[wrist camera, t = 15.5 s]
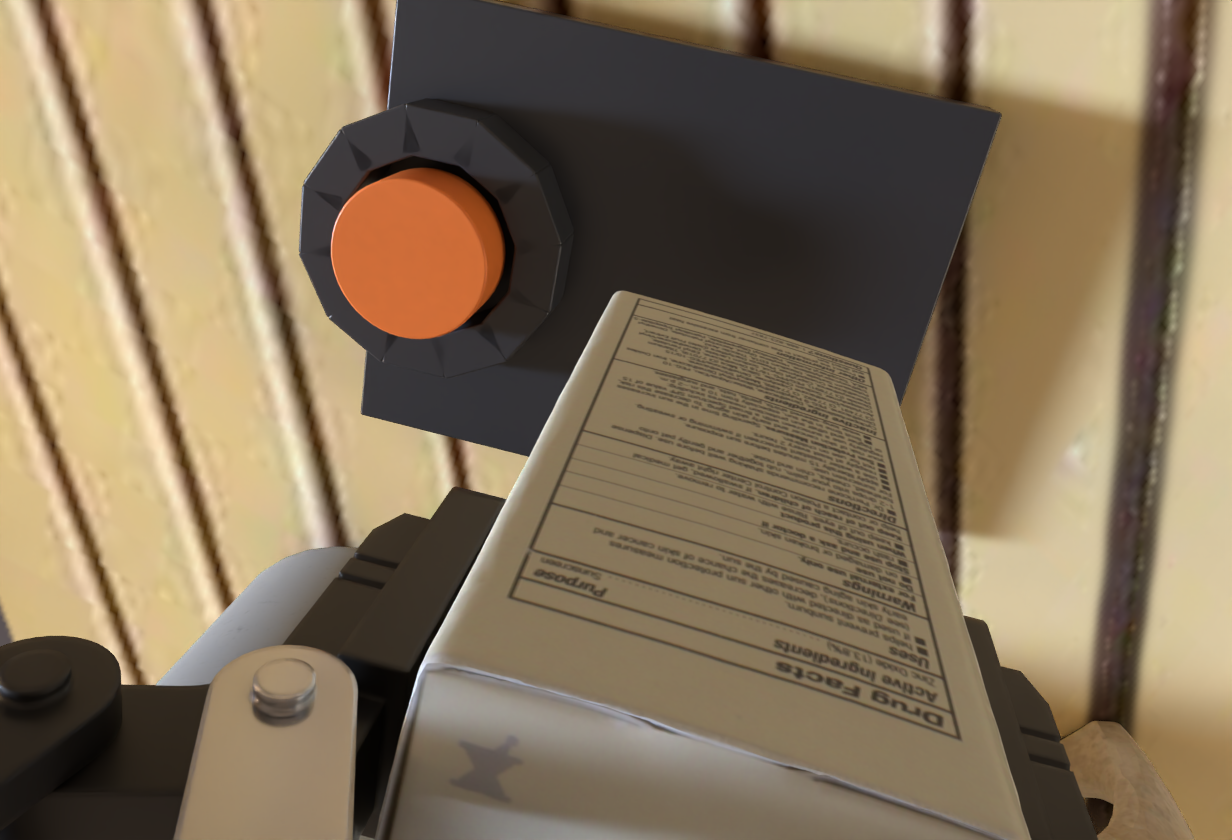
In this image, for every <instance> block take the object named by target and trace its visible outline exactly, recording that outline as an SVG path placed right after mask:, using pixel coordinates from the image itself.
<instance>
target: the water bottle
mask: <svg viewBox="0 0 1232 840" xmlns="http://www.w3.org/2000/svg"><path fill="white" fill-rule="evenodd" d="M357 549H358V548H352V547H328V548H319V549H311V550H306V551H303V552H300V553H298V554H295V555H292V556H289V557H286V558H284V559H282V560H280V561H279V562H277V563H276V564H274V565H272V566H271V567H269V568H268V569H266V570H264V571H263V572H261V573H260V574H259V575H258V576H257V577H256V578H255V579H254V580H253V581H252V582H251V583H250V585H249V586H248V587H247V588H246V589H245V590H244V591H243V592H242V593H241V594H240V595H239V596H238V597H237V598H236V599H235V600H234V602H233V603H232V604H231V605H230V606H229V607H228V608H227V609H226V610H225V611H224V612H223V613H222V614H221V615H220V617H219V618H218V619H217V620H216V621H215V622H214V623H213V624H212V625H211V626H210V627H209V628H208V629H207V630H206V631H205V633H204V634H203V635H202V636H201V637H200V638H199V639H198V640H197V641H196V642H195V643H194V644H193V645H192V646H191V647H190V649H189V650H188V651H187V652H186V653H185V654H184V655H183V656H182V657H181V658H180V659H179V660H178V661H177V662H176V664H175V665H174V666H173V667H172V668H171V669H170V670H169V671H168V672H167V673H166V674H165V675H164V676H163V677H162V678H161V680H160V681H159V682H158V683H157V684H156V685H163V686H194V685H204V684H210V683H211V682H212V680H213V679H214V677H215V676H216V674H217V673H218V672H219V671H220V670H221V669H222V668H223V667H224V666H226V665H227V664H228V663H230V662H231V661H232V660H234V659H236V658H238V657H240V656H241V655H244V654H246V653H249V652H251V651H254V650H257V649H261V648H265V647H271V646H277V645H282V644H283V643H284V642H285V640H286V639H287V638H288V637H289V635H290V634H291V633H292V632H293V630H294V629H295V628H296V626H297V625H298V624H299V623H300V621H301V620H302V619H303V618H304V616H305V615H306V614H307V613H308V611H309V610H310V609H311V607H312V606H313V605H314V604H315V602H316V601H317V600H318V599H319V597H320V596H321V595H322V594H323V592H324V591H325V590H326V588H327V587H328V586H329V585H330V583H331V582H332V581H333V580H334V578H335V577H337V578H338V576H339V572H340V571H341V570H342V568H343V567H344V566H345V564H346V563H347V562H348V561H349V559H350V558H353V557H354V554H355V552H356V551H357ZM359 840H374V839H373V838H369V837H366V836H362V835H361V836H360V838H359Z"/></svg>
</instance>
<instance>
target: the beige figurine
mask: <svg viewBox="0 0 1232 840" xmlns="http://www.w3.org/2000/svg"><path fill="white" fill-rule="evenodd" d="M1060 743H1061V744H1063V745H1064V748H1065V751H1066V753H1067V756H1068V759H1069V761H1070V764H1071V765H1070V771H1072V772H1074V775H1075V778H1076V781H1077V783H1078V786H1079V789H1080V791H1081V794H1082V797H1089V798H1099V799H1103V800H1105V801H1107V802H1110V803H1112V804H1114V807H1113V816H1112V817H1111V819H1110V822H1109V825H1108V826H1107V827H1106V828H1105V829H1104V830H1103V831H1102V832H1101V833H1100V834H1098V835H1097V838H1098V840H1194V836H1193V834H1192V832H1191V830H1190V829H1189V827H1188V825H1187V823H1186V821H1185V819H1184V817H1183V815H1182V813H1181V812H1180V810H1179V808H1178V806H1177V804H1176V802H1175V801H1174V799H1173V797H1172V796H1171V794H1170V792H1169V791H1168V789H1167V787H1166V786H1165V784H1164V783H1163V781H1162V780H1161V778H1160V777H1159V775H1158V773H1157V772H1156V770H1155V768H1154V766H1153V764H1152V763H1151V761H1150V760H1149V758H1148V757H1147V756H1146V754H1145V753H1144V752H1143V751H1142V750H1141V748H1140V747H1139V746H1138V745H1137V744H1136V742H1135V741H1134V739H1133V738H1132V737H1131V736H1130V735H1129V734H1128V732H1127V731H1126V730H1125V729H1124V728H1123V727H1122V726H1121V724H1119V723H1116V722H1108V721H1092V722H1090V723H1088V724H1087V725H1086V726H1084V727H1083V728H1081V729H1079V730H1077V731H1076V732H1074V733H1073V734H1071V735H1069V736H1068V737H1066V738H1064V739H1062V740H1060Z"/></svg>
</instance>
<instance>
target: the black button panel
mask: <svg viewBox="0 0 1232 840" xmlns="http://www.w3.org/2000/svg"><path fill="white" fill-rule="evenodd" d="M1001 117H1002V114H1001V113H1000V112H998V111H996V110H994V109H992V108H990V107H985V106H981V105H976V104H972V103H967V102H962V101H958V100H953V99H949V98H944V97H939V96H935V95H930V94H926V93H921V92H916V91H912V90H907V89H903V88H898V87H893V86H889V85H884V84H880V83H875V82H870V81H866V80H861V79H856V78H852V77H847V76H843V75H838V74H833V73H829V72H824V71H820V70H815V69H810V68H806V67H801V66H797V65H792V64H787V63H783V62H778V61H774V60H769V59H764V58H760V57H755V56H750V55H746V54H741V53H737V52H732V51H727V50H723V49H718V48H714V47H709V46H704V45H700V44H695V43H691V42H686V41H681V40H677V39H672V38H668V37H663V36H658V35H654V34H649V33H644V32H640V31H635V30H631V29H626V28H621V27H617V26H612V25H608V24H603V23H598V22H594V21H589V20H585V19H580V18H575V17H571V16H566V15H562V14H557V13H552V12H548V11H543V10H538V9H534V8H529V7H525V6H520V5H515V4H511V3H506V2H502V1H497V0H397V1H396V13H395V24H394V36H393V47H392V59H391V70H390V82H389V93H388V105H387V110H386V111H384V112H381V113H378V114H376V115H373V116H370V117H367V118H365V119H362V120H359V121H357V122H354V123H351V124H349V125H346V126H343V127H342V128H341V129H340V130H339V131H338V133H337V134H336V136H335V137H334V139H333V140H332V141H331V143H330V144H329V146H328V147H327V149H326V150H325V152H324V153H323V154H322V156H321V157H320V159H319V160H318V162H317V163H316V165H315V166H314V167H313V169H312V170H311V172H310V173H309V175H308V176H307V178H306V179H305V180H304V184H303V186H302V203H301V222H300V241H299V252H300V253H299V255H300V258H301V260H302V262H303V264H304V266H305V269H306V271H307V273H308V275H309V277H310V280H311V282H312V284H313V286H314V289H315V291H316V293H317V295H318V297H319V300H320V302H321V304H322V306H323V308H324V311H325V313H326V315H327V317H329V319H330V320H331V321H332V322H334V323H335V324H336V325H337V326H338V327H339V328H341V329H342V330H343V331H344V332H345V333H347V334H348V335H349V336H350V337H351V338H352V339H354V340H355V341H356V342H357V343H358V344H360V345H361V346H362V347H363V348H364V349H365V350H366V358H365V370H364V381H363V393H362V404H361V414H362V415H366V416H370V417H374V418H378V419H382V420H386V421H389V422H393V423H397V424H401V425H405V426H409V427H413V428H417V429H421V430H425V431H429V432H433V433H437V434H441V435H445V436H449V437H453V438H457V439H461V440H465V441H469V442H473V443H477V444H481V445H485V446H489V447H493V448H497V449H501V450H505V451H509V452H512V453H516V454H520V455H524V456H528V457H529V456H530V454H531V452H532V450H533V448H534V446H535V444H536V442H537V440H538V438H539V436H540V434H541V432H542V430H543V428H544V426H545V424H546V422H547V420H548V418H549V416H550V415H551V413H552V411H553V409H554V407H555V405H556V402H557V400H558V398H559V396H560V395H561V393H562V391H563V389H564V387H565V386H566V384H567V382H568V380H569V378H570V377H571V374H572V372H573V370H574V368H575V366H576V364H577V363H578V361H579V359H580V357H581V355H582V353H583V351H584V349H585V347H586V346H587V344H588V342H589V340H590V338H591V336H592V334H593V332H594V330H595V328H596V326H597V324H598V322H599V320H600V318H601V316H602V315H603V313H604V311H605V309H606V307H607V306H608V304H609V302H610V300H611V298H612V296H613V295H614V294H615V293H616V292H618V291H628V292H631V293H635V294H639V295H643V296H646V297H650V298H653V299H657V300H661V301H664V302H668V303H672V304H675V305H679V306H682V307H686V308H690V309H693V310H697V311H700V312H703V313H706V314H710V315H713V316H717V317H721V318H724V319H728V320H731V321H734V322H737V323H741V324H744V325H747V326H750V327H754V328H757V329H760V330H764V331H767V332H770V333H773V334H777V335H780V336H783V337H786V338H789V339H792V340H796V341H799V342H802V343H805V344H808V345H811V346H815V347H818V348H821V349H824V350H827V351H830V352H832V353H835V354H838V355H841V356H844V357H848V358H851V359H854V360H857V361H860V362H863V363H866V364H869V365H872V366H875V367H878V368H881V369H882V370H884V371H886V372H887V373H888V374H889V376H890V378H891V380H892V383H893V386H894V389H895V392H896V395H897V399H898V402H899V406H901V403H902V400H903V397H904V394H905V391H906V389H907V386H908V383H909V380H910V377H911V374H912V371H913V369H914V366H915V363H916V360H917V357H918V354H919V351H920V349H921V346H922V343H923V340H924V337H925V334H926V331H927V328H928V326H929V323H930V320H931V317H932V314H933V311H934V308H935V306H936V303H937V300H938V297H939V294H940V291H941V288H942V286H943V283H944V280H945V277H946V274H947V271H948V268H949V266H950V263H951V260H952V257H953V254H954V251H955V248H956V246H957V243H958V240H959V237H960V234H961V231H962V228H963V226H964V223H965V220H966V217H967V214H968V211H969V208H970V206H971V203H972V200H973V197H974V194H975V191H976V188H977V185H978V183H979V180H980V177H981V174H982V171H983V168H984V165H985V163H986V160H987V157H988V154H989V151H990V148H991V145H992V143H993V140H994V137H995V134H996V131H997V128H998V125H999V123H1000V120H1001ZM412 168H434V169H440V170H443V171H446V172H450V173H452V174H454V175H456V176H459V177H460V178H462V179H464V180H465V181H467V182H468V183H470V184H471V185H472V186H473V187H475V188H476V189H477V190H478V191H479V192H480V193H481V194H482V195H483V196H484V197H485V199H486V200H487V201H488V202H489V204H490V205H491V207H492V208H493V210H494V212H495V213H496V215H497V218H498V220H499V222H500V225H501V228H502V231H503V235H504V240H505V251H506V256H505V265H504V270H503V274H502V277H501V280H500V282H499V284H498V286H497V288H496V290H495V291H494V293H493V294H492V296H491V297H490V298H489V299H488V300H487V301H486V302H485V303H484V304H483V305H482V306H481V307H480V308H479V309H478V310H477V311H476V312H475V313H474V314H473V315H472V316H471V317H470V318H469V319H468V320H467V321H466V322H465V323H464V324H462V325H461V326H460V327H458V328H457V329H455V330H453V331H452V332H450V333H447V334H445V335H442V336H439V337H435V338H430V339H409V338H404V337H399V336H396V335H393V334H390V333H388V332H385V331H383V330H381V329H379V328H378V327H376V326H374V325H372V324H371V323H370V322H368V321H367V320H366V319H365V318H363V317H362V316H361V315H360V314H359V313H358V312H357V311H356V310H355V309H354V308H353V306H352V305H351V304H350V303H349V301H348V300H347V298H346V297H345V295H344V294H343V292H342V290H341V288H340V286H339V284H338V281H337V279H336V276H335V273H334V269H333V265H332V258H331V240H332V232H333V229H334V225H335V222H336V220H337V217H338V215H339V213H340V211H341V210H342V208H343V206H344V205H345V204H346V203H347V201H348V200H349V199H350V198H351V197H352V196H353V195H354V194H355V193H357V192H358V191H359V190H361V189H362V188H364V187H366V186H367V185H370V184H372V183H374V182H377V181H379V180H380V179H384V178H386V177H388V176H391V175H393V174H395V173H398V172H400V171H403V170H407V169H412Z"/></svg>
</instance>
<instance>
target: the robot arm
mask: <svg viewBox="0 0 1232 840" xmlns="http://www.w3.org/2000/svg"><path fill="white" fill-rule="evenodd" d="M506 500H507V499H503V498H499V497H495V496H491V495H487V494H483V493H479V492H475V491H471V490H467V489H463V488H459V487H453V488H452V489H451V491H450V492H449V493H448V495H447V496H446V498H445V499H444V501H443V502H442V503H441V505H440V506H439V508H438V509H437V511H436V512H435V514H434V515H433V516H432V518H431V519H426V518H422V517H418V516H414V515H410V514H406V513H404V514H402V515H400V516H398V517H396V518H394V519H392V520H391V521H389V522H387V523H385V524H383V525H381V526H379V527H377V528H375V529H373V530H372V532H371V533H370V534H369V535H368V537H367V538H366V539H365V540H364V542H363V543H362V544H361V545H360V547H359V548H358V549H357V551H356V552H355V554H354V557H353V558H350V559H349V561H348V562H347V563H346V564H345V566H344V567H343V568H342V570H341V571H340V572H339V576H338V578H337V577H335V578H334V580H333V581H332V582H331V583H330V585H329V586H328V587H327V588H326V590H325V591H324V592H323V594H322V595H321V596H320V597H319V599H318V600H317V601H316V602H315V604H314V605H313V606H312V607H311V609H310V610H309V611H308V613H307V614H306V615H305V616H304V618H303V619H302V620H301V621H300V623H299V624H298V625H297V626H296V628H295V629H294V630H293V632H292V633H291V634H290V635H289V637H288V638H287V639H286V640H285V642H284V643H283V644H282V645H277V646H271V647H265V648H261V649H257V650H254V651H251V652H249V653H246V654H244V655H241V656H240V657H238V658H236V659H234V660H232V661H231V662H230V663H228V664H227V665H226V666H224V667H223V668H222V669H221V670H220V671H219V672H218V673H217V674H216V676H215V677H214V679H213V680H212V682H211V683H210V684H204V685H194V686H163V685H121V670H120V667H119V663H118V661H117V660H116V658H115V656H114V655H113V654H112V653H111V652H110V651H109V650H108V649H106V648H104V647H103V646H101V645H99V644H97V643H95V642H92V641H89V640H86V639H82V638H77V637H69V636H44V637H35V638H30V639H24V640H20V641H16V642H13V643H9V644H6V645H3V646H1V647H0V840H359V838H360V836H361V835H362V836H366V837H369V838H373V839H375V835H376V831H377V826H378V822H379V816H380V813H381V809H382V805H383V801H384V797H385V794H386V789H387V785H388V780H389V776H390V772H391V769H392V766H393V762H394V758H395V754H396V750H397V745H398V741H399V737H400V733H401V729H402V726H403V722H404V718H405V715H406V712H407V709H408V706H409V702H410V699H411V695H412V692H413V688H414V685H415V681H416V678H417V674H418V671H419V668H420V666H421V664H422V662H423V660H424V658H425V655H426V653H427V651H428V649H429V647H430V645H431V644H432V642H433V640H434V638H435V636H436V635H437V633H438V631H439V629H440V627H441V626H442V624H443V622H444V620H445V618H446V616H447V614H448V613H449V611H450V609H451V607H452V605H453V603H454V601H455V599H456V597H457V596H458V594H459V592H460V590H461V588H462V586H463V584H464V582H465V580H466V578H467V577H468V575H469V573H470V571H471V569H472V567H473V565H474V563H475V562H476V560H477V558H478V556H479V554H480V552H481V550H482V548H483V546H484V543H485V541H486V539H487V538H488V536H489V534H490V532H491V530H492V528H493V526H494V524H495V522H496V520H497V518H498V516H499V514H500V512H501V510H502V508H503V506H504V504H505V502H506ZM963 617H964V620H965V623H966V627H967V630H968V633H969V636H970V639H971V642H972V645H973V648H974V651H975V655H976V658H977V661H978V664H979V668H980V672H981V675H982V679H983V683H984V686H985V690H986V693H987V696H988V699H989V703H990V706H991V709H992V712H993V715H994V718H995V721H996V724H997V727H998V730H999V733H1000V737H1001V741H1002V744H1003V748H1004V751H1005V755H1006V758H1007V761H1008V765H1009V768H1010V772H1011V775H1012V778H1013V781H1014V784H1015V787H1016V790H1017V793H1018V797H1019V801H1020V806H1021V810H1022V814H1023V816H1024V819H1025V822H1026V825H1027V828H1028V831H1029V834H1030V838H1031V840H1098V838H1097V835H1096V832H1095V830H1094V827H1093V824H1092V821H1091V819H1090V816H1089V813H1088V811H1087V808H1086V805H1085V802H1084V800H1083V797H1082V794H1081V791H1080V789H1079V786H1078V783H1077V781H1076V778H1075V775H1074V772H1072V771H1070V765H1071V764H1070V761H1069V759H1068V756H1067V753H1066V751H1065V748H1064V745H1063V744H1061V743H1060V738H1061V737H1060V734H1059V731H1058V729H1057V726H1056V723H1055V721H1054V718H1053V715H1052V712H1051V710H1050V707H1049V704H1048V703H1047V702H1046V701H1045V700H1044V698H1043V697H1042V696H1041V695H1040V694H1039V692H1038V691H1037V690H1036V689H1035V688H1034V686H1033V685H1032V684H1031V683H1030V682H1029V681H1028V679H1027V678H1026V677H1025V676H1024V675H1023V673H1022V672H1021V671H1017V670H1013V669H1009V668H1005V667H1001V666H1000V663H999V660H998V657H997V654H996V651H995V647H994V644H993V641H992V638H991V635H990V632H989V628H988V626H987V624H986V623H985V622H984V621H983V620H979V619H975V618H971V617H967V616H963Z"/></svg>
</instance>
